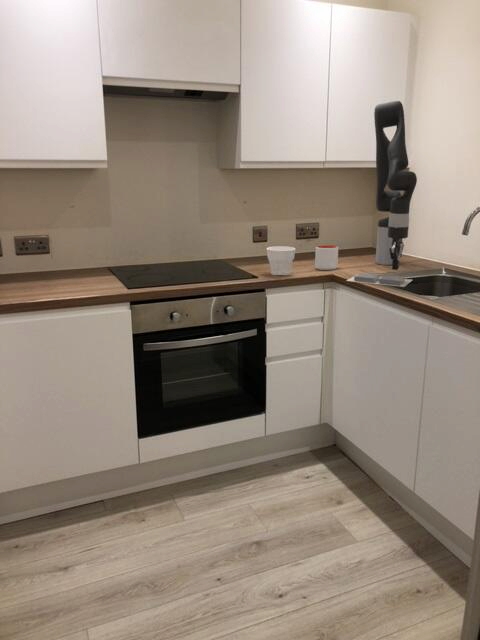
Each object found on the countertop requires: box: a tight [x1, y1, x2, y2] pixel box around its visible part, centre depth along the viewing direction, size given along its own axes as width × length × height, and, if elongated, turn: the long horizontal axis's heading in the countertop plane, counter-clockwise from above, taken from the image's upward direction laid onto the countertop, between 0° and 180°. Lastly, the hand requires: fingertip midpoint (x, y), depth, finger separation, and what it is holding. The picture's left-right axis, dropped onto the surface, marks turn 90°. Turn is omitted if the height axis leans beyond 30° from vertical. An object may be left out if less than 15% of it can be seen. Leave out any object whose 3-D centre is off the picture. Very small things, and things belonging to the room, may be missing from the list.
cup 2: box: [314, 244, 339, 271], centre depth 231 cm, size 10×10×10 cm
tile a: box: [354, 272, 381, 284], centre depth 206 cm, size 2×8×8 cm
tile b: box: [379, 274, 406, 286], centre depth 202 cm, size 2×8×8 cm
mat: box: [345, 274, 413, 288], centre depth 206 cm, size 14×23×1 cm, turn 59°
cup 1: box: [266, 245, 296, 276], centre depth 221 cm, size 12×12×11 cm
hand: (395, 269), depth 203 cm, fingers closed
